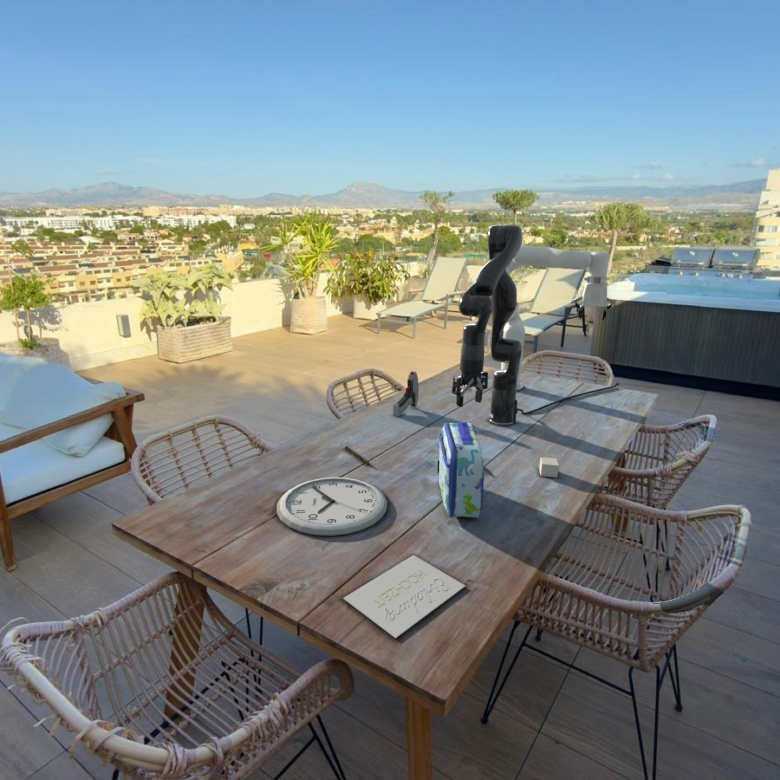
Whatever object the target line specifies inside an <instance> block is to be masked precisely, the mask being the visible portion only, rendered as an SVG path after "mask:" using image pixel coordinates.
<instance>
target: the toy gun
mask: <svg viewBox="0 0 780 780" xmlns="http://www.w3.org/2000/svg"><path fill="white" fill-rule="evenodd" d="M407 375H408V377H407V378H408V379H407V380H406V381H407V386H406V387H405V392H404V394H403V396H402V397H401V398H400V399H399V400H398V401H397V402H396V403H393V404H392V413H393V414H392V415H393V416H396V417H400V416H402V415H403V413H404V412H405V411H407V409H408V408H409V406H410V407H411V408H414V409H417V407H418V402H419V393H420V392H419V391H420V390H419V389H420V388H419V387H420V386H419V377H418V373H417V371H414V370H411V371H410V372H409V374H407Z"/></svg>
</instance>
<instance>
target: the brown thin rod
mask: <svg viewBox="0 0 780 780" xmlns="http://www.w3.org/2000/svg"><path fill="white" fill-rule="evenodd" d="M344 449H345V450H346V451H348V452H349V453H350V454H352V455H353V456H355V457H356V458H358V459H359V460H361V461H362V462H363V463H364V464H366V465H370V461H368V460H367V459H366V458H364V457H363V456H361V455H360V454H358V453H357V452H356V451H354V450H353V449H352V448H350V447H348V446H347V445H345V446H344Z"/></svg>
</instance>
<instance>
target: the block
mask: <svg viewBox="0 0 780 780" xmlns="http://www.w3.org/2000/svg"><path fill="white" fill-rule="evenodd" d="M559 467H560V465H559V461H558V458H554V457H543V456H540V458H539V467H538V470H539V474H540V477H546V478H547V477H548V478H558V477H559V469H560V468H559Z"/></svg>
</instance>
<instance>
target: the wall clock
mask: <svg viewBox="0 0 780 780" xmlns="http://www.w3.org/2000/svg"><path fill="white" fill-rule="evenodd" d="M387 509H388V500H387V498H386V496H385V494H384V493H383V492H382V491H381V490H380V489H379V488H377V487H376V486H374V485H372V484H371V483H369V482H365V481H362V480H359V479H355V478H349V477H338V476H337V477H335V476H333V477H332V476H331V477H322V478H317V479H312V480H307V481H305V482H302V483H299V484H297V485H295V486H293V487H292V488H290V489H288V490H287V491H286V492H285V493H284V494H283V495H281V496H280V498H279V499H278V502H277V503H276V515H277V517H278V518H279V520H280V521H281V522H282V523H283V524H285V525H286V526H287V527H288V528H290V529H293V530H295V531H297V532H299V533H303V534H308V535H312V536H327V537H328V536H329V537H331V536H332V537H333V536H342V535H350V534H352V533H356V532H361V531H363V530H366V529H368V528H369V527H372V526H373V525H375V524H376V523H378V522H379V521H380V520H381V519H382V518H383V517H384V516H385V514H386V512H387Z"/></svg>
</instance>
